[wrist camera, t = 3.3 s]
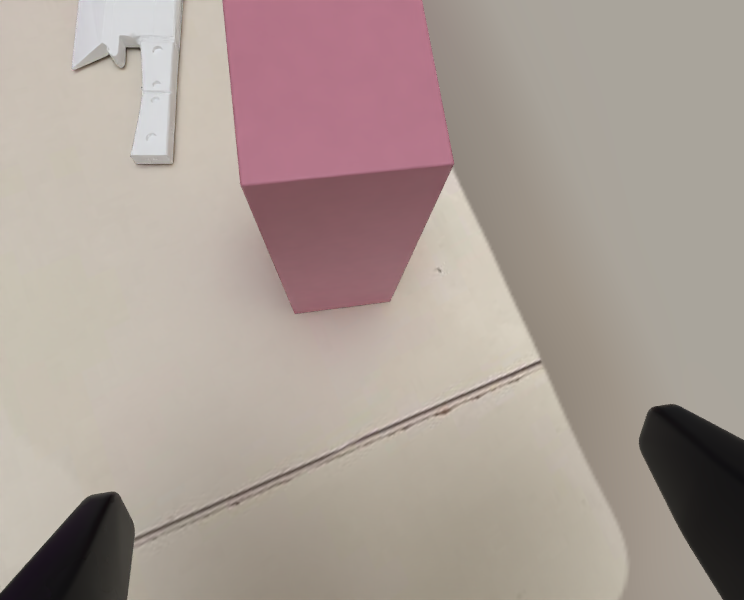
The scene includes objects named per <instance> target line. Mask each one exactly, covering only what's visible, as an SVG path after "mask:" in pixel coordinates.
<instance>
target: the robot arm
mask: <svg viewBox="0 0 744 600" xmlns="http://www.w3.org/2000/svg"><path fill="white" fill-rule="evenodd" d="M639 447H640V450H641V453H642V455H643V457H644V459H645V461H646V463H647V465H648V467H649V469H650V471H651V473H652V475H653V477H654V479H655V481H656V483H657V485H658V487H659V489H660V491H661V493H662V495H663V497H664V499H665V501H666V503H667V505H668V507H669V509H670V511H671V513H672V515H673V517H674V519H675V521H676V523H677V525H678V527H679V529H680V530H681V532H682V534H683V536H684V538H685V539H686V541H687V543H688V544H689V546H690V548H691V549H692V551H693V552H694V554H695V556H696V557H697V559H698V560H699V562H700V564H701V565H702V567H703V568H704V570H705V572H706V573H707V575H708V576H709V578H710V580H711V581H712V583H713V585H714V586H715V588H716V589H717V591H718V593H719V594H720V595H721V597H722V599H723V600H744V440H743V439H741V438H739V437H737V436H735V435H733V434H731V433H729V432H728V431H726V430H724V429H722V428H720V427H718V426H716V425H714V424H712V423H711V422H709V421H707V420H705V419H703V418H701V417H699V416H697V415H695V414H694V413H691V412H690V411H688V410H686V409H684V408H682V407H680V406H678V405H674V404H668V405H662V406H655V407H652V408H651V409H650V410H649V411H648V413H647V416H646V419H645V422H644V425H643V428H642V431H641V434H640V437H639ZM134 537H135V529H134V524H133V521H132V519H131V517H130V515H129V513H128V511H127V509H126V507H125V505H124V503H123V501H122V499H121V497H120V496H119V494H118V493H116V492H106V493H100V494H94V495H90V496H88V497H87V498H86V499H84V500H83V501H82V502H81V504H80V505H79V506H78V507H77V508H76V509H75V510H74V511H73V513H72V514H71V515H70V516H69V517H68V518H67V519H66V520H65V521H64V523H63V524H62V525H61V526H60V527H59V528H58V529H57V530H56V532H55V533H54V534H53V535H52V536H51V537H50V538H49V539H48V540H47V542H46V543H45V544H44V545H43V546H42V547H41V548H40V549H39V551H38V552H37V553H36V554H35V555H34V556H33V557H32V558H31V559H30V561H29V562H28V563H27V564H26V565H25V566H24V567H23V568H22V570H21V571H20V572H19V573H18V574H17V575H16V576H15V577H14V578H13V580H12V581H11V582H10V583H9V584H8V585H7V586H6V587H5V589H4V590H3V591H2V592H1V593H0V600H127V596H128V587H129V579H130V571H131V562H132V554H133V546H134Z"/></svg>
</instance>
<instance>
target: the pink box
mask: <svg viewBox="0 0 744 600" xmlns="http://www.w3.org/2000/svg"><path fill="white" fill-rule="evenodd" d="M222 1H223V11H224V21H225V32H226V42H227V52H228V62H229V73H230V83H231V93H232V103H233V114H234V124H235V134H236V144H237V155H238V165H239V175H240V185H241V187H242V190H243V192H244V194H245V197H246V199H247V202H248V204H249V206H250V209H251V211H252V213H253V216H254V218H255V221H256V223H257V225H258V228H259V230H260V232H261V235H262V237H263V240H264V242H265V244H266V247H267V249H268V251H269V254H270V256H271V259H272V261H273V263H274V266H275V268H276V270H277V273H278V275H279V278H280V280H281V282H282V285H283V287H284V289H285V292H286V294H287V297H288V299H289V301H290V304H291V306H292V308H293V311H294V313H295V314H297V313H304V312H312V311H320V310H328V309H335V308H343V307H351V306H359V305H366V304H374V303H382V302H390V301H391V298H392V296H393V294H394V292H395V290H396V288H397V286H398V283H399V281H400V279H401V277H402V275H403V273H404V270H405V268H406V266H407V264H408V262H409V260H410V257H411V255H412V253H413V251H414V249H415V247H416V245H417V242H418V240H419V238H420V236H421V234H422V232H423V229H424V227H425V225H426V223H427V221H428V219H429V217H430V214H431V212H432V210H433V208H434V206H435V204H436V201H437V199H438V197H439V195H440V193H441V191H442V188H443V186H444V184H445V182H446V180H447V178H448V176H449V173H450V171H451V169H452V167H453V165H454V160H453V155H452V150H451V145H450V140H449V135H448V130H447V125H446V120H445V115H444V109H443V104H442V100H441V94H440V89H439V84H438V79H437V74H436V69H435V64H434V59H433V54H432V49H431V43H430V38H429V33H428V28H427V23H426V18H425V13H424V8H423V3H422V0H222Z"/></svg>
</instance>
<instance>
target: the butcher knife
mask: <svg viewBox="0 0 744 600" xmlns="http://www.w3.org/2000/svg"><path fill="white" fill-rule="evenodd" d="M181 1H182V9H183V0H79V5H78V14H77V23H76V33H75V42H74V51H73V61H72V70H76V69H78V68H80V67H82V66H85V65H87V64H89V63H91V62H94V61H96V60H98V59H101V58H103V57H105V56H107V55H110V56H111V57H112V59H113V61H114V62H115V63H116V64H117V65H118V66H119V67H120V68H122V67H123V66H124V65H125V57H126V47H139V48H140V49H141V59H142V83H143V87H141V88H143V89H142V100H141V106H140V112H139V117H138V122H137V128H136V132H135V137H134V142H133V146H132V151H131V155H130V157H131V158H132V159H133V160H134V162H135V163H136V164H173V149H174V130H175V112H176V93H177V76H178V59H179V54H178V48H179V49H180V40H179V38H180V35H181V26H180V19H181V22H182V13H181Z"/></svg>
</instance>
